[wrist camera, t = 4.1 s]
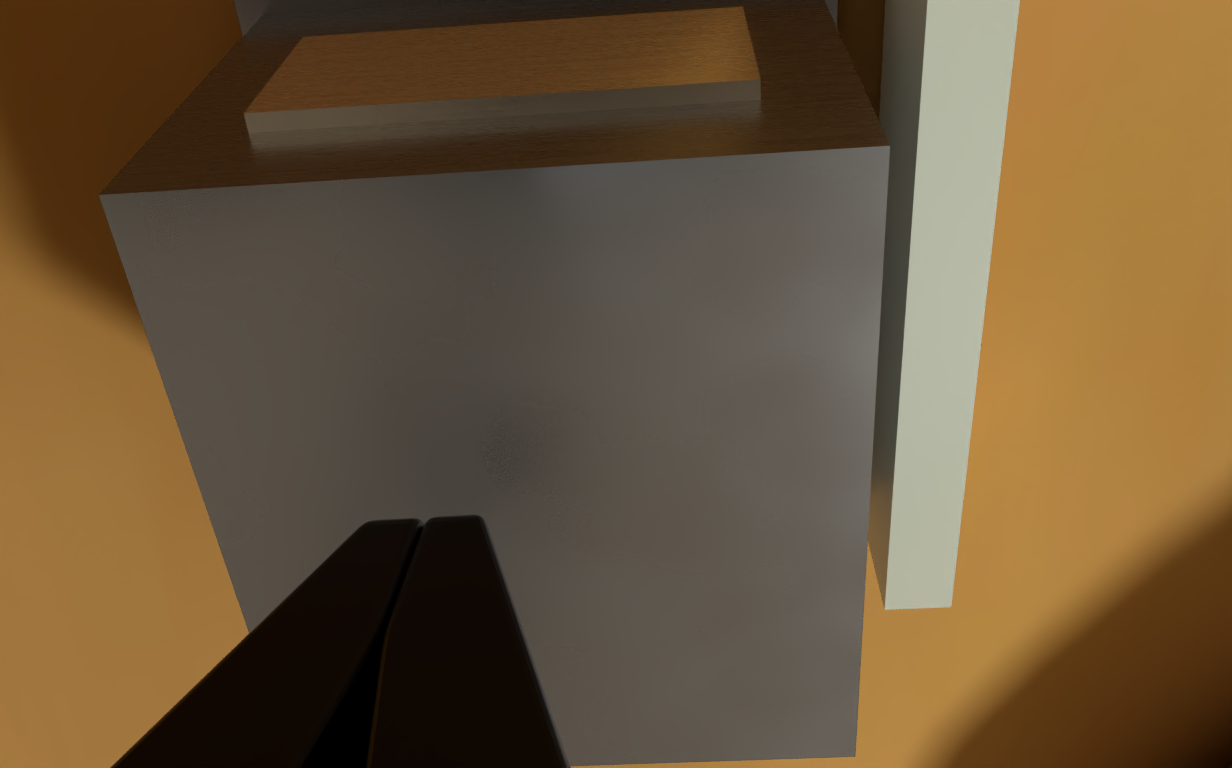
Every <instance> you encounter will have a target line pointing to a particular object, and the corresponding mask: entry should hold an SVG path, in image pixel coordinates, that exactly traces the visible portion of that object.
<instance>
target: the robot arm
mask: <svg viewBox="0 0 1232 768" xmlns="http://www.w3.org/2000/svg"><path fill="white" fill-rule="evenodd" d="M111 768H570V765H569V762H568V759H567V756H566V753H565V750H564V747H563V744H562V741H561V738H560V736H559V733H558V730H557V727H556V724H555V721H554V718H553V715H552V712H551V709H550V706H549V703H548V701H547V698H546V695H545V692H544V689H543V686H542V683H541V680H540V677H539V674H538V671H537V669H536V666H535V663H534V660H533V657H532V654H531V651H530V648H529V645H528V642H527V639H526V637H525V634H524V631H523V628H522V625H521V622H520V619H519V616H518V613H517V610H516V607H515V604H514V602H513V599H512V596H511V593H510V590H509V587H508V584H507V581H506V578H505V575H504V572H503V570H502V567H501V564H500V561H499V558H498V555H497V552H496V549H495V546H494V543H493V540H492V538H491V535H490V532H489V529H488V526H487V523H486V521H485V519H484V518H483V517H481V516H479V515H458V516H440V517H433V518H431V519H429V520H428V521H426V523H424V522H422V521H421V520H419V519H418V518H404V519H385V520H373V521H368V522H366V523H364V524H363V525H361V526H360V527H359V528H358V529H357V530H356V531H355V532H354V533H353V534H352V535H350V536H349V537H348V538H347V539H346V540H345V541H344V542H343V543H342V544H341V545H340V546H339V547H338V548H337V549H336V550H335V551H334V552H333V553H332V554H331V555H330V556H329V557H328V558H327V559H326V560H325V561H324V562H323V563H322V564H320V565H319V566H318V567H317V568H316V569H315V570H314V571H313V572H312V573H311V574H310V575H309V576H308V577H307V578H306V579H305V580H304V581H303V582H302V583H301V584H300V585H299V586H298V587H297V588H296V589H295V590H294V591H293V592H292V593H291V594H289V595H288V596H287V597H286V598H285V599H284V600H283V601H282V602H281V603H280V604H279V605H278V606H277V607H276V608H275V609H274V610H273V611H272V612H271V613H270V614H269V615H268V616H267V617H266V618H265V619H264V620H263V621H262V622H261V623H259V624H258V625H257V626H256V627H255V628H254V629H253V630H252V631H251V632H250V633H249V634H248V635H247V636H246V637H245V638H244V639H243V640H242V641H241V642H240V643H239V644H238V645H237V646H236V647H235V648H234V649H233V650H232V651H231V652H230V653H228V654H227V655H226V656H225V657H224V658H223V659H222V660H221V661H220V662H219V663H218V664H217V665H216V666H215V667H214V668H213V669H212V670H211V671H210V672H209V673H208V674H207V675H206V676H205V677H204V678H203V679H202V680H201V681H200V682H198V683H197V684H196V685H195V686H194V687H193V688H192V689H191V690H190V691H189V692H188V693H187V694H186V695H185V696H184V697H183V698H182V699H181V700H180V701H179V702H178V703H177V704H176V705H175V706H174V707H173V708H172V709H171V710H170V711H169V712H167V713H166V714H165V715H164V716H163V717H162V718H161V719H160V720H159V721H158V722H157V723H156V724H155V725H154V726H153V727H152V728H151V729H150V730H149V731H148V732H147V733H146V734H145V735H144V736H143V737H142V738H141V739H140V740H139V741H137V742H136V743H135V744H134V745H133V746H132V747H131V748H130V749H129V750H128V751H127V752H126V753H125V754H124V755H123V756H122V757H121V758H120V759H119V760H118V761H117V762H116V763H115V764H114V765H113V766H112V767H111Z"/></svg>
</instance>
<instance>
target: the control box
mask: <svg viewBox="0 0 1232 768" xmlns="http://www.w3.org/2000/svg"><path fill="white" fill-rule="evenodd" d="M234 4H235V8H236V12H237V16H238V20H239V24H240V28H241V32H242V36H243V37H242V38H241V39H240V40H239V41H238V43H237V44H236V45H235V46H234V47H233V48H232V49H231V50H230V51H229V52H228V54H227V55H226V56H225V57H224V58H223V59H222V60H221V61H220V62H219V63H218V65H217V66H216V67H215V68H214V69H213V70H212V71H211V72H210V73H209V74H208V75H207V77H206V78H205V79H204V80H203V81H202V82H201V83H200V84H199V85H198V86H197V88H196V89H195V90H194V91H193V92H192V93H191V94H190V95H189V96H188V97H187V99H186V100H185V101H184V102H183V103H182V104H181V105H180V106H179V107H178V108H177V110H176V111H175V112H174V113H173V114H172V115H171V116H170V117H169V118H168V119H167V121H166V122H165V123H164V124H163V125H162V126H161V127H160V128H159V129H158V130H157V131H156V133H155V134H154V135H153V136H152V137H151V138H150V139H149V140H148V141H147V142H146V144H145V145H144V146H143V147H142V148H141V149H140V150H139V151H138V152H137V153H136V155H135V156H134V157H133V158H132V159H131V160H130V161H129V162H128V163H127V164H126V165H125V167H124V168H123V169H122V170H121V171H120V172H119V173H118V174H117V175H116V176H115V178H114V179H113V180H112V181H111V182H110V183H109V184H108V185H107V186H106V187H105V189H104V190H103V191H102V192H101V193H100V194H99V198H100V201H101V204H102V206H103V209H104V212H105V215H106V218H107V221H108V224H109V227H110V230H111V233H112V236H113V238H114V241H115V244H116V247H117V250H118V253H119V256H120V259H121V262H122V265H123V268H124V270H125V273H126V276H127V279H128V282H129V285H130V288H131V291H132V294H133V297H134V299H135V302H136V305H137V308H138V311H139V314H140V317H141V320H142V323H143V326H144V329H145V331H146V334H147V337H148V340H149V343H150V346H151V349H152V352H153V355H154V358H155V361H156V363H157V366H158V369H159V372H160V375H161V378H162V381H163V384H164V387H165V390H166V392H167V395H168V398H169V401H170V404H171V407H172V410H173V413H174V416H175V419H176V422H177V424H178V427H179V430H180V433H181V436H182V439H183V442H184V445H185V448H186V451H187V454H188V456H189V459H190V462H191V465H192V468H193V471H194V474H195V477H196V480H197V483H198V485H199V488H200V491H201V494H202V497H203V500H204V503H205V506H206V509H207V512H208V515H209V517H210V520H211V523H212V526H213V529H214V532H215V535H216V538H217V541H218V544H219V547H220V549H221V552H222V555H223V558H224V561H225V564H226V567H227V570H228V573H229V576H230V578H231V581H232V584H233V587H234V590H235V593H236V596H237V599H238V602H239V605H240V608H241V610H242V613H243V616H244V619H245V622H246V625H247V628H248V631H249V633H250V632H251V631H252V630H253V629H254V628H255V627H256V626H257V625H258V624H259V623H261V622H262V621H263V620H264V619H265V618H266V617H267V616H268V615H269V614H270V613H271V612H272V611H273V610H274V609H275V608H276V607H277V606H278V605H279V604H280V603H281V602H282V601H283V600H284V599H285V598H286V597H287V596H288V595H289V594H291V593H292V592H293V591H294V590H295V589H296V588H297V587H298V586H299V585H300V584H301V583H302V582H303V581H304V580H305V579H306V578H307V577H308V576H309V575H310V574H311V573H312V572H313V571H314V570H315V569H316V568H317V567H318V566H319V565H320V564H322V563H323V562H324V561H325V560H326V559H327V558H328V557H329V556H330V555H331V554H332V553H333V552H334V551H335V550H336V549H337V548H338V547H339V546H340V545H341V544H342V543H343V542H344V541H345V540H346V539H347V538H348V537H349V536H350V535H352V534H353V533H354V532H355V531H356V530H357V529H358V528H359V527H360V526H361V525H363V524H364V523H366V522H368V521H373V520H385V519H404V518H418V519H419V520H421V521H422V522H424V523H426V521H428V520H429V519H431V518H433V517H440V516H458V515H479V516H481V517H483V518H484V519H485V521H486V523H487V526H488V529H489V532H490V535H491V538H492V540H493V543H494V546H495V549H496V552H497V555H498V558H499V561H500V564H501V567H502V570H503V572H504V575H505V578H506V581H507V584H508V587H509V590H510V593H511V596H512V599H513V602H514V604H515V607H516V610H517V613H518V616H519V619H520V622H521V625H522V628H523V631H524V634H525V637H526V639H527V642H528V645H529V648H530V651H531V654H532V657H533V660H534V663H535V666H536V669H537V671H538V674H539V677H540V680H541V683H542V686H543V689H544V692H545V695H546V698H547V701H548V703H549V706H550V709H551V712H552V715H553V718H554V721H555V724H556V727H557V730H558V733H559V736H560V738H561V741H562V744H563V747H564V750H565V753H566V756H567V759H568V762H569V765H570V766H590V765H621V764H651V763H681V762H711V761H741V760H771V759H801V758H831V757H855V753H856V736H857V718H858V701H859V683H860V666H861V648H862V630H863V613H864V595H865V578H866V560H867V543H868V525H869V508H870V490H871V473H872V455H873V437H874V420H875V402H876V385H877V367H878V350H879V332H880V315H881V297H882V280H883V262H884V244H885V227H886V209H887V192H888V174H889V157H890V144H889V142H888V140H887V138H886V135H885V133H884V131H883V129H882V127H881V124H880V122H879V120H878V118H877V115H876V113H875V111H874V109H873V107H872V104H871V102H870V100H869V98H868V96H867V93H866V91H865V89H864V87H863V85H862V82H861V80H860V78H859V76H858V73H857V71H856V69H855V67H854V65H853V62H852V60H851V58H850V56H849V54H848V51H847V49H846V47H845V45H844V42H843V40H842V38H841V36H840V34H839V31H838V29H837V12H838V0H234Z"/></svg>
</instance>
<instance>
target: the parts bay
mask: <svg viewBox="0 0 1232 768" xmlns="http://www.w3.org/2000/svg"><path fill="white" fill-rule="evenodd" d="M1019 4H1020V0H885V14H884V33H883V53H882V73H881V92H880V112H879V122H880V124H881V127H882V129H883V131H884V133H885V135H886V138H887V140H888V142H889V144H890V157H889V174H888V192H887V209H886V227H885V244H884V262H883V280H882V297H881V315H880V332H879V350H878V367H877V385H876V402H875V420H874V437H873V455H872V473H871V490H870V508H869V525H868V542H869V546H870V551H871V555H872V559H873V563H874V567H875V572H876V576H877V580H878V584H879V588H880V592H881V597H882V601H883V605H884V609H885V610H891V609H916V608H941V607H951V604H952V596H953V587H954V578H955V569H956V560H957V551H958V543H959V534H960V525H961V516H962V507H963V498H964V490H965V481H966V472H967V463H968V454H969V445H970V437H971V428H972V419H973V410H974V401H975V392H976V383H977V375H978V366H979V357H980V348H981V339H982V330H983V322H984V313H985V304H986V295H987V286H988V277H989V269H990V260H991V251H992V242H993V233H994V224H995V216H996V207H997V198H998V189H999V180H1000V171H1001V163H1002V154H1003V145H1004V136H1005V127H1006V118H1007V110H1008V101H1009V92H1010V83H1011V74H1012V65H1013V57H1014V48H1015V39H1016V30H1017V21H1018V12H1019Z"/></svg>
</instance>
